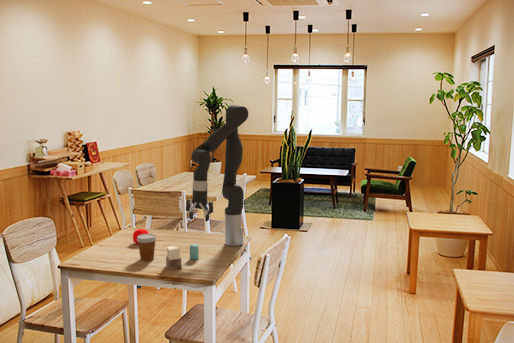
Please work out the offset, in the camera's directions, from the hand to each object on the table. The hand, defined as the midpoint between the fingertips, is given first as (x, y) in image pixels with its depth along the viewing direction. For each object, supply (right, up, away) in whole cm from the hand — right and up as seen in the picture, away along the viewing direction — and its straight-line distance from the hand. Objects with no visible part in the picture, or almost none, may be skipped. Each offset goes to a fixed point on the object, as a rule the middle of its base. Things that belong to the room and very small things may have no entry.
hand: (199, 220), depth 259 cm
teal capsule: (-2, -19, -6) cm, 20 cm away
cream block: (-10, -16, -18) cm, 26 cm away
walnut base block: (-10, -21, -17) cm, 29 cm away
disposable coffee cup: (-25, -19, -6) cm, 32 cm away
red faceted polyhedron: (-34, -15, +19) cm, 42 cm away
